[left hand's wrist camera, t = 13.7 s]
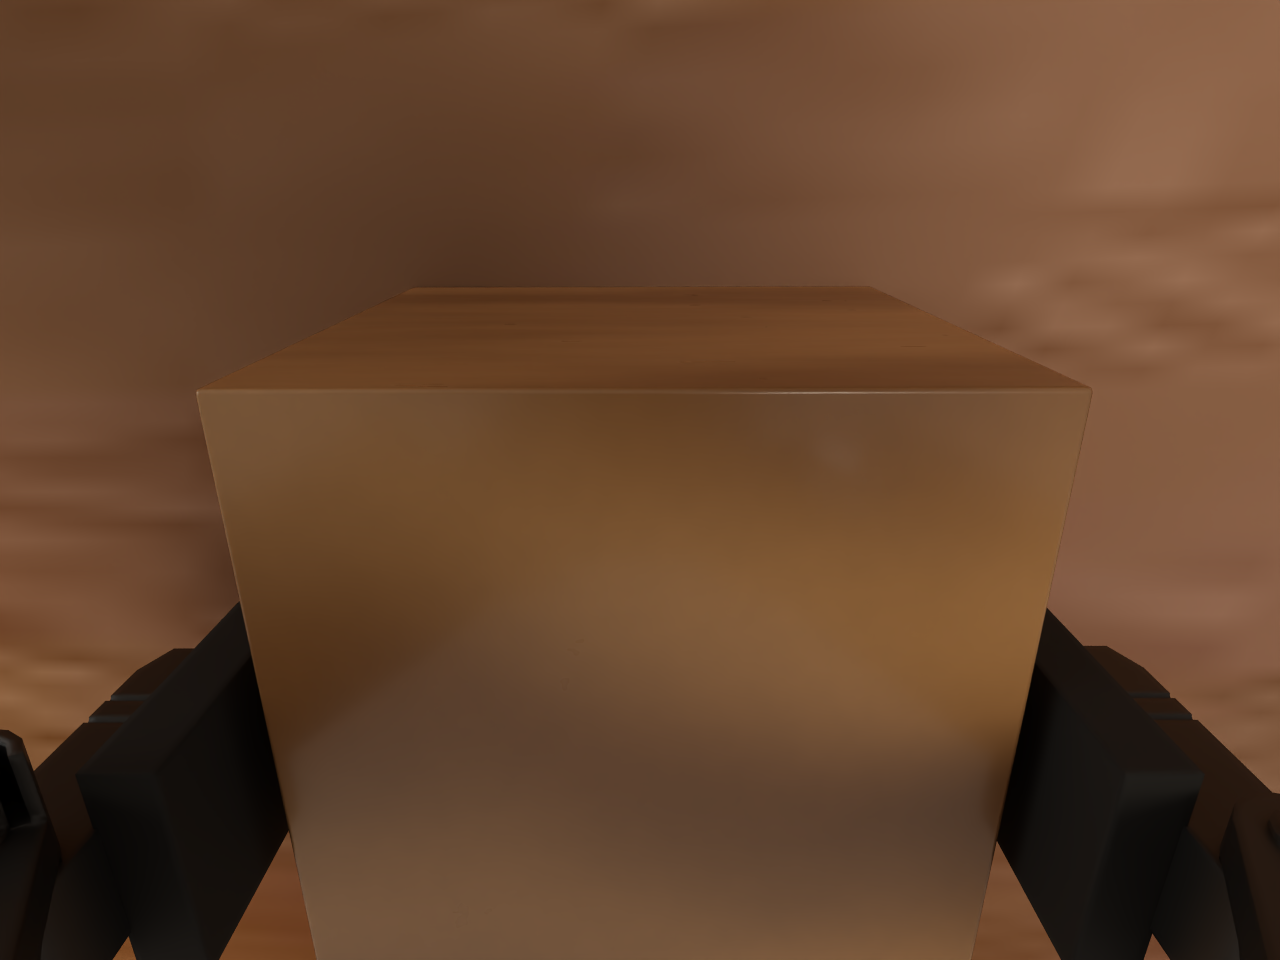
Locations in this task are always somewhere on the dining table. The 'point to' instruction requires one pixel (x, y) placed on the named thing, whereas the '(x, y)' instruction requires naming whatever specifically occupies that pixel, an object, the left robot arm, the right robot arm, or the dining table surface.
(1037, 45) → the dining table surface
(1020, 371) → the thick board
